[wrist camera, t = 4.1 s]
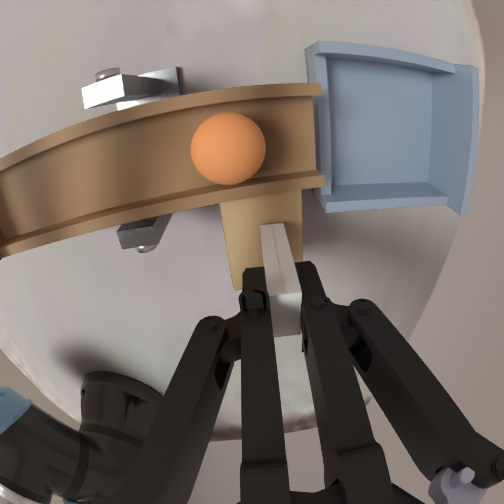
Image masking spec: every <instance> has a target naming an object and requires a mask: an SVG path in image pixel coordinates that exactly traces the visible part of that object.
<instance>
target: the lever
mask: <svg viewBox="0 0 504 504" xmlns="http://www.w3.org/2000/svg"><path fill="white" fill-rule="evenodd" d="M317 95H321V83H289V84H268V85H254V86H243V87H234V88H225V89H218V90H211V91H204V92H198V93H192V94H186V95H181V96H176V97H171V98H166V99H161V100H157V101H153V102H148V103H144V104H140V105H137V106H133V107H129V108H125V109H122V110H118V111H115V112H112V113H108V114H105V115H102V116H99V117H96V118H93V119H90V120H87V121H84V122H81V123H79V124H76V125H73V126H71V127H68V128H65V129H63V130H60V131H58V132H56V133H53V134H51V135H48V136H46V137H44V138H41V139H39V140H37V141H35V142H33V143H31V144H28V145H26V146H24V147H22V148H20V149H18V150H16V151H14V152H12V153H10V154H8V155H6V156H5V157H3V158H1V159H0V260H1V259H2V258H4V257H7V256H10V255H13V254H16V253H19V252H22V251H26V250H29V249H32V248H36V247H39V246H42V245H46V244H49V243H53V242H56V241H60V240H63V239H67V238H70V237H74V236H78V235H82V234H85V233H89V232H93V231H97V230H101V229H105V228H109V227H113V226H117V225H121V224H125V223H129V222H133V221H138V220H142V219H146V218H151V217H155V216H160V215H164V214H169V213H174V212H179V211H183V210H188V209H193V208H198V207H203V206H208V205H213V204H219V205H220V211H221V217H222V224H223V230H224V236H225V242H226V247H227V253H228V259H229V265H230V271H231V276H232V282H233V286H234V290H235V291H236V290H241V289H242V274H243V272H244V270H245V269H246V268H251V267H261V266H264V263H263V253H262V242H261V232H260V225H268V224H278V223H283V224H284V228H285V231H286V235H287V239H288V242H289V246H290V249H291V253H292V257H293V261H294V262H303V232H302V191H301V190H303V189H310V188H317V187H324V186H325V175H324V174H322V173H321V172H319V171H317V170H316V154H315V130H314V112H313V97H312V96H317ZM225 112H233V113H238V114H241V115H244V116H246V117H248V118H249V119H251V120H252V121H253V122H254V123H255V124H257V126H258V127H259V128H260V130H261V132H262V134H263V136H264V139H265V146H266V149H265V156H264V160H263V162H262V164H261V166H260V168H259V169H258V171H257V172H256V173H255V174H254V175H253V176H252V177H250V178H249V179H247V180H246V181H243V182H241V183H238V184H233V185H222V184H217V183H214V182H212V181H210V180H208V179H206V178H205V177H204V176H202V175H201V174H200V173H199V171H198V170H197V169H196V167H195V165H194V163H193V161H192V157H191V141H192V138H193V135H194V133H195V131H196V130H197V128H198V127H199V126H200V124H201V123H202V122H204V121H205V120H206V119H208V118H209V117H211V116H213V115H216V114H219V113H225Z"/></svg>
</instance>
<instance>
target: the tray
mask: <svg viewBox="0 0 504 504" xmlns="http://www.w3.org/2000/svg"><path fill="white" fill-rule="evenodd" d="M305 57H306V67H307V78H308V83H321V95H317V96H312V97H313V112H314V130H315V154H316V170H317V171H319V172H321V173H322V174H324V175H325V186H324V187H317V188H313V194H314V195H315V197H316V198H317V200H318V201H319V203H320V204H321V206H322V207H323V209H324V210H325V212H326V213H333V212H345V211H358V210H371V209H385V208H401V207H418V206H437V205H447V206H449V207H450V208H451V209H453V210H454V211H455V212H457V213H458V214H459V215H467V210H468V205H469V200H470V195H471V189H472V183H473V176H474V170H475V162H476V153H477V143H478V128H479V73H478V67H475V66H472V65H460V64H452V63H449V62H446V61H442V60H439V59H435V58H431V57H427V56H423V55H419V54H415V53H410V52H406V51H401V50H395V49H390V48H384V47H377V46H370V45H363V44H354V43H343V42H329V41H318V42H316V43H314V44H313V45H311V46H310V47H308V48H306V49H305Z"/></svg>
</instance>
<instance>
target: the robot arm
mask: <svg viewBox="0 0 504 504" xmlns="http://www.w3.org/2000/svg"><path fill="white" fill-rule="evenodd" d="M260 232H261V242H262V253H263V263H264V266H261V267H251V268H246V269H245V270H244V272H243V274H242V293H241V294H240V295H239V304H240V310H241V311H240V312H239V313H238V314H237V315H235V316H234V317H232V318H229V319H226V320H224V319H222V318H221V317H218V316H208V317H205V318H203V319H202V320H200V321H199V323H198V324H197V326H196V328H195V330H194V332H193V334H192V336H191V338H190V340H189V343H188V345H187V347H186V349H185V351H184V353H183V355H182V358H181V360H180V362H179V364H178V366H177V368H176V371H175V373H174V375H173V377H172V379H171V381H170V384H169V386H168V388H167V390H166V392H165V395H164V397H162V396H161V395H160V394H158V393H157V392H156V391H154V390H153V389H151V388H150V387H148V386H146V385H144V384H142V383H140V382H138V381H136V380H133V379H130V378H128V377H125V376H121V375H117V374H113V373H106V372H94V373H90V374H88V375H87V376H86V377H85V378H84V381H83V384H82V387H81V416H82V422H81V426H80V429H79V431H77V430H75V429H73V428H71V427H70V426H68V425H66V424H64V423H63V422H61V421H59V420H58V419H56V418H55V417H53V416H51V415H50V414H48V413H47V412H45V411H44V410H42V409H41V408H39V407H38V406H36V405H35V404H33V403H32V401H31V400H30V399H26V398H25V397H23V396H22V395H20V394H19V393H17V392H16V391H14V390H13V389H12V388H10V387H7V386H1V387H0V504H50V502H51V498H52V495H53V494H54V495H57V496H60V497H62V498H63V502H64V504H187V503H188V500H189V498H190V496H191V492H192V490H193V487H194V484H195V481H196V478H197V475H198V472H199V469H200V466H201V464H202V461H203V457H204V454H205V451H206V449H207V445H208V443H209V440H210V437H211V434H212V431H213V428H214V424H215V421H216V418H217V415H218V412H219V409H220V406H221V403H222V400H223V397H224V394H225V391H226V387H227V384H228V381H229V378H230V375H231V372H232V369H233V366H234V361H237V360H239V359H241V410H242V463H241V467H240V492H241V493H240V494H241V495H240V497H241V501H240V502H238V503H237V504H425V503H423V502H421V501H420V500H418V499H417V498H415V497H414V496H412V495H411V494H409V493H407V492H406V491H404V490H403V489H401V488H400V487H398V486H397V485H395V484H393V483H391V480H390V475H389V471H388V467H387V463H386V459H385V455H384V452H383V449H382V447H381V445H380V444H379V443H377V442H376V441H375V439H374V436H373V433H372V429H371V425H370V421H369V418H368V414H367V411H366V407H365V404H364V400H363V397H362V393H361V390H360V386H359V383H358V380H357V377H356V373H355V370H354V367H355V368H356V370H357V371H358V373H359V375H360V376H361V378H362V379H363V381H364V382H365V384H366V385H367V387H368V389H369V390H370V392H371V393H372V395H373V396H374V398H375V399H376V401H377V403H378V404H379V406H380V408H381V409H382V411H383V412H384V414H385V415H386V417H387V419H388V420H389V422H390V423H391V425H392V427H393V428H394V430H395V432H396V433H397V435H398V437H399V438H400V440H401V441H402V443H403V445H404V446H405V448H406V449H407V451H408V453H409V455H410V456H411V458H412V460H413V461H414V463H415V464H416V466H417V467H418V469H419V470H420V472H422V474H423V475H424V476H425V477H426V478H427V479H428V480H429V481H431V484H430V487H429V490H428V494H429V496H430V497H431V498H432V499H433V501H434V502H435V504H479V502H480V500H481V499H482V497H483V496H484V494H485V492H486V491H487V489H488V488H489V487H491V486H493V485H495V484H497V483H499V482H501V481H502V480H504V450H503V449H501V448H499V447H498V446H496V445H495V444H493V443H492V442H490V441H489V440H487V439H486V438H485V437H483V436H481V435H480V434H479V433H477V432H476V431H475V430H474V429H473V427H472V426H471V424H470V423H469V422H468V420H467V419H466V417H465V416H464V415H463V413H462V412H461V411H460V409H459V408H458V406H457V405H456V404H455V402H454V401H453V400H452V398H451V397H450V396H449V394H448V393H447V392H446V390H445V389H444V388H443V386H442V385H441V384H440V382H439V381H438V380H437V379H436V377H435V376H434V375H433V373H432V372H431V371H430V370H429V368H428V367H427V366H426V364H425V363H424V362H423V361H422V359H421V358H420V357H419V356H418V354H417V353H416V352H415V351H414V350H413V348H412V347H411V346H410V345H409V343H408V342H407V341H406V340H405V339H404V337H403V336H402V335H401V334H400V333H399V331H398V330H397V329H396V328H395V327H394V325H393V324H392V323H391V322H390V321H389V320H388V318H387V317H386V316H385V315H384V314H383V313H382V311H381V310H380V309H379V308H378V307H377V306H376V305H375V304H374V303H373V302H372V301H370V300H367V299H357V300H354V301H353V302H352V303H351V304H350V306H344V305H337V304H335V303H332V302H331V300H330V299H329V298H328V297H326V295H325V292H324V289H323V286H322V283H321V280H320V278H319V275H318V272H317V269H316V267H315V265H314V264H313V263H311V262H310V261H304V262H294V261H293V257H292V253H291V249H290V246H289V242H288V239H287V235H286V231H285V228H284V224H283V223H278V224H268V225H260ZM301 331H302V352H304V355H305V360H306V365H307V370H308V376H309V381H310V386H311V392H312V397H313V403H314V409H315V414H316V420H317V426H318V432H319V438H320V443H321V450H322V456H323V463H324V483H325V489H323V490H321V491H318V492H315V493H308V492H296V491H290V489H289V478H288V467H287V460H286V451H285V440H284V430H283V420H282V411H281V401H280V391H279V382H278V372H277V363H276V354H275V345H274V337H281V336H290V335H298V334H301ZM353 365H354V367H353Z"/></svg>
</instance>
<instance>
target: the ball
mask: <svg viewBox="0 0 504 504" xmlns="http://www.w3.org/2000/svg"><path fill="white" fill-rule="evenodd" d="M265 149H266V146H265V139H264V136H263V134H262V132H261V130H260V128H259V127H258V126H257V124H255V123H254V122H253V121H252V120H251V119H249V118H248V117H246V116H244V115H241V114H238V113H233V112H225V113H219V114H216V115H213V116H211V117H209V118H208V119H206V120H205V121H204V122H202V123H201V124H200V126H199V127H198V128H197V130H196V131H195V133H194V135H193V138H192V141H191V157H192V161H193V163H194V165H195V167H196V169H197V170H198V171H199V173H200V174H201V175H202V176H204V177H205V178H206V179H208V180H210V181H212V182H214V183H217V184H222V185H233V184H238V183H241V182H243V181H246V180H247V179H249V178H250V177H252V176H253V175H254V174H255V173H256V172H257V171H258V169H259V168H260V166H261V164H262V162H263V160H264V156H265Z"/></svg>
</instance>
